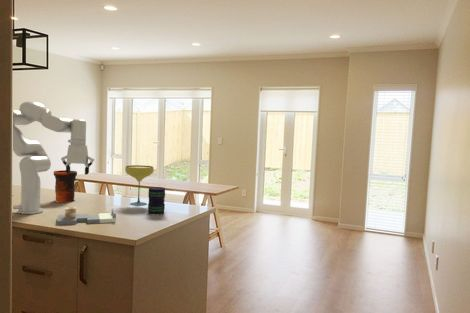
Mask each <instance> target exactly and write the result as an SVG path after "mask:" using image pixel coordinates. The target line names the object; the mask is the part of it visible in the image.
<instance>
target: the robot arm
mask: <svg viewBox="0 0 470 313" xmlns="http://www.w3.org/2000/svg"><path fill="white" fill-rule="evenodd" d="M12 110H13V149H12V151H13V152H14V154H15V155H16V156H17V157H20V158H21V157H22V158H21V159H20V161H19V163H18V164H19V166H18V167H19V171H20V181H21V182H20V190H21V191H20V203H19V204H18V205H15V204H14V205H13V209H12V210H17V213H18V214H20V213H21V215H34V214H40V213H42V212H44V209H43V208H41V178H40V176H39V173H43V172H47V171H49V170H50V169H51V164H52V163H51V162H52V161H51V159H50V157H49V156H48V154H47V151H46V150H45V148H44V146H43V145H42V144H41V143H40V142H39V141H37V140H34V139H27V138H26V137H25V135H24V134H23V132H22V131H21V129H19V128H18V127H17V126H27V125H28V126H29V125H30V124H32V123H34V122H38V123H40V124H41V125H42V126H43V127H44V128H46V129H48V130H50V131H53V132H55V133H69V134H70V139H68V140H67V142H68V143H69V144H68V146H67V154H66V155H64V156H62V157H61V158H60V160H61V162H62V164H63V165H64V166H65V170H66V172H67V174H69V173H70V171H71V164H78V165H79V164H80V165H81V164H82V165H84V166H85V167H84V175H89V173H90V167H91V166H92V165H93V163H94V162H95V159H94V158H93V157H91V156H89V150H88V145H87V144H86V143H87V142H86V139H87V122H86V120H85V119H74V118H73V119H72V118H65V117H64V118H63V117H56V116H54V115H53V114H52V111H51V110H50V109H49V108H47V107H46V106H45V105H44V104H42V103H40V102H34V101H25V102H24V101H23V102H22V103H21V104H20V105H19V110H18V109H12ZM89 161H90V162H89Z"/></svg>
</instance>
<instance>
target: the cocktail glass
mask: <svg viewBox="0 0 470 313" xmlns="http://www.w3.org/2000/svg"><path fill="white" fill-rule="evenodd" d="M125 173H126V174H127V175H129V176H130V177H132V178H134V179H136V180H135V181H137V182H138V192H137V194H138V195H137V201H134V202H130V203H129V205H130V206H135V207H136V206H137V207H138V206H142V207H143V206H146V205H148V204H147V202H143V201H141V200H140V189H141V188H140V186H141V184H140V183H141V182H142V181H143V179H145V178H147V177H149V176H151V175H152V174H153V173H154V166H151V165H138V164H137V165H135V164H133V165H126V166H125Z"/></svg>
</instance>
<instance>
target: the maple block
mask: <svg viewBox="0 0 470 313" xmlns="http://www.w3.org/2000/svg"><path fill="white" fill-rule="evenodd" d="M64 211H65V213H64V215H65V219H69V218H76V214H77V207H76V206H66V207H65V210H64Z"/></svg>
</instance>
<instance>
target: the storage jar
mask: <svg viewBox="0 0 470 313" xmlns="http://www.w3.org/2000/svg"><path fill="white" fill-rule="evenodd" d="M147 193H148V194H147V195H148V197H147V198H148V204H147V214H148V213H149V215H153V214H159V215H164V214H165V206H166V205H165V197H166V188H165V187H162V186H150V187H148V192H147ZM163 213H164V214H163Z"/></svg>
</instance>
